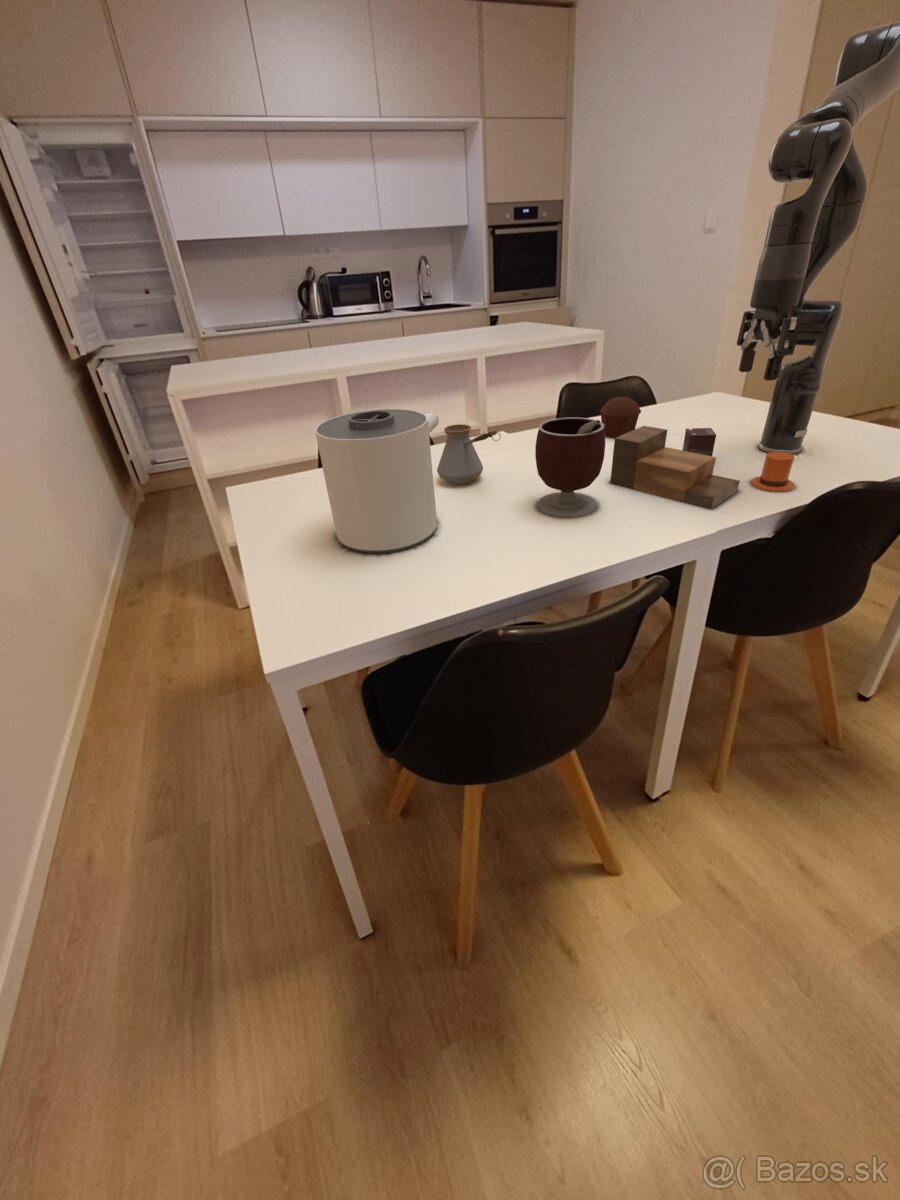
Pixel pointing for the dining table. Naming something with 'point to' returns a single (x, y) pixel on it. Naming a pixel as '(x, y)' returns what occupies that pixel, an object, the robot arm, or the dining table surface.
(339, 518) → the humidifier
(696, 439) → the box
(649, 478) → the stand
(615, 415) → the muffin
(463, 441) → the coffee pot
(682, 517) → the dining table surface
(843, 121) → the robot arm
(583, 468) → the mate gourd
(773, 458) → the hat
